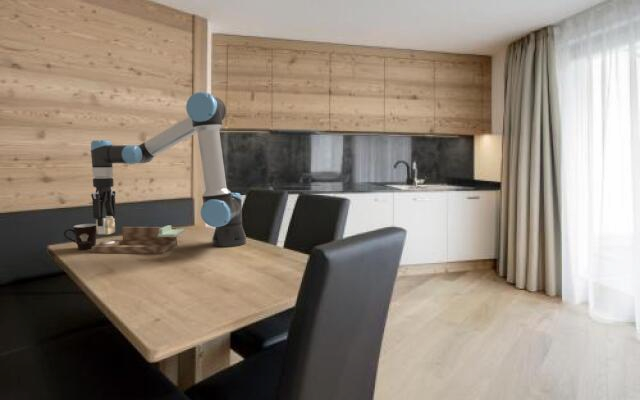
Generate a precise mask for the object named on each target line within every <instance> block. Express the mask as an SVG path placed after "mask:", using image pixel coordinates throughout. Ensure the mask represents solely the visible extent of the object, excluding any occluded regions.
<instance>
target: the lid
mask: <svg viewBox="0 0 640 400" xmlns="http://www.w3.org/2000/svg"><path fill="white" fill-rule="evenodd" d="M162 227H163V228H160V229H159V234H158V237H175V236H177V237H178V236H179V235H182V234H183V233H185V232H186V229H184V228H183V229H182V228H181V229H171V227H172V225H171V224H170V225H169V224H168V225H164V226H162Z"/></svg>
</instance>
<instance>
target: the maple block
mask: <svg viewBox="0 0 640 400" xmlns="http://www.w3.org/2000/svg"><path fill="white" fill-rule="evenodd" d="M104 218H105V229H106V234H105V235H111V234H113V233H115V232H116V222H115V220H116V219H115V218H114V217H113V218H106V217H104ZM95 224H96V230H97V231H96V235H99V234H98V221H97V219H95Z"/></svg>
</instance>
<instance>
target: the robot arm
mask: <svg viewBox="0 0 640 400" xmlns="http://www.w3.org/2000/svg"><path fill="white" fill-rule="evenodd" d="M185 107H186V109H185V110H186V113H187V115H188V116H187V117H185V118H184V119H182V120H180V121H178V122H176V123H175V124H173V125H171V126H170V127H167V128H166V129H165V130H163V131H161V132H159V133H158V134H156V135H154V136H153V137H151V138H149V139H147V140H146V141H143V142H142V143H141V144H139V145H133V144H125V145H124V144H121V145H114V144H112V141H110V140H100V139H95V140H92V141H91V142H90V154H91V155H90V156H91V157H90V158H91V168H92V169H91V171H92V177H93V179H92V186H93V188H95V193H91V194H90V195H91V200H92V215H93V216H92V217H93V218H94V219H96V220H97V221H98V234H97V235H107V234H106V229H105V218H114V217H115V216H116V215H117V209H116V208H117V205H116V193H117V192H116V191H115V190H112V188H113V187H114V170H113V168H114V167H113V164H124V165H125V164H127V165H128V164H129V165H134V164H147V163H151V161H152V160H153V159H154V157H157V156H158V155H160V154H161V153H164V152H165V151H167V150H169V149H171V148H173V147H174V146H176V145H178V144H180V143H181V142H183V141H184V140H186V139H188V138H191V137H192V136H193V135H195V134H197V138H198V146H199V153H200V154H199V155H200V162H201V167H202V175H203V181H204V182H203V183H204V189H205V190H204V192H203V194H202V197H201V198H202V206H201V209H200V217H201V218H202V220H203V222H204V223H205V224H206V225H207V226H210V227H213V228H214V232H213V235H212V239H211V242H212V243H211V244H212V246H215V247H223V248H224V247H226V248H227V247H229V248H230V247H238V246H242V245H245V244H246V243H247V235H246V233H245V230H244V228H243V212H242V211H243V209H242V207H243V205H242V202H243V201H242V200H243V199H242V195H241V194H240V193H239V192H231V190H229V189H228V187H227V182H226V181H227V180H226V175H225V166H224V158H223V151H222V150H223V149H222V143H221V142H222V141H221V136H220V135H221V134H220V130H221V128H222V127H223V121H224V120H225V118H226V115H227V108H226V105H225V103H224V101H223V100H221V99H220V98H219V97H218V96H215V95H212V94H211V93H210V92H206V91H205V92H204V91H198V92H195V93H193V94H192V95H190V97H189V98H188V99H187V101H186V106H185ZM105 213H106V216H105ZM104 216H105V217H104Z"/></svg>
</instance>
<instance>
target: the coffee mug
mask: <svg viewBox="0 0 640 400" xmlns="http://www.w3.org/2000/svg"><path fill="white" fill-rule="evenodd" d="M69 231H71V232H73V234H74V235H75V240H74V239H72V238H70V237H68V236H67V235H66V234H67V232H69ZM63 235H64V237H65V239H67V240H69V241H71V242H73V243H75V244H77V249H78V250H79V251H88V250H92V246H95V245H97V230H96V223H83V224H82V223H81V224H76V225H74V226H73V229H70V228H68V229H66V230H64V232H63Z"/></svg>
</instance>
